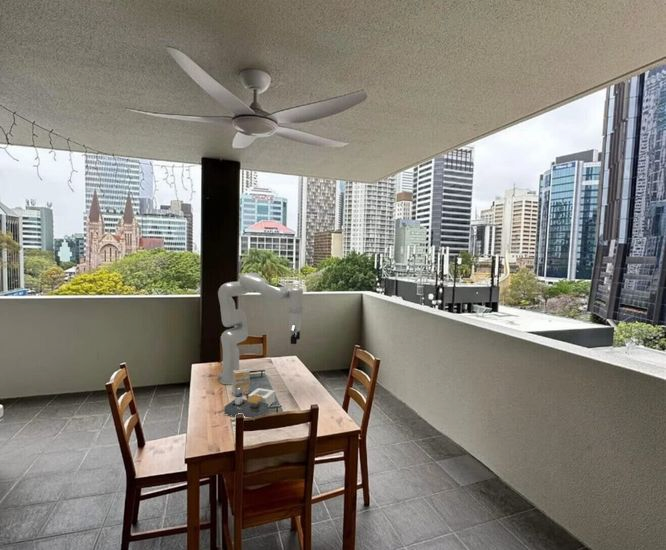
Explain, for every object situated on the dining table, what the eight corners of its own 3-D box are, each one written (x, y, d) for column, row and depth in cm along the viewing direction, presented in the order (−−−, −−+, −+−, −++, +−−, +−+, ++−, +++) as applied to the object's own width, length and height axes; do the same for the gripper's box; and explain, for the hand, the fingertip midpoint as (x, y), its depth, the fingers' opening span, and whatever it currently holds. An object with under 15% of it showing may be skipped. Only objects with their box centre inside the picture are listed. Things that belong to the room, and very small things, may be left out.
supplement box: (234, 397, 182) (234, 373, 181) (232, 393, 186) (232, 370, 185) (249, 394, 186) (249, 370, 185) (247, 390, 190) (247, 368, 189)
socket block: (224, 414, 162) (224, 406, 161) (236, 405, 171) (236, 398, 171) (257, 421, 156) (257, 412, 156) (268, 411, 166) (268, 403, 166)
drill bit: (233, 412, 164) (233, 388, 163) (237, 409, 167) (237, 385, 167) (239, 413, 163) (239, 389, 162) (243, 410, 166) (244, 386, 166)
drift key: (247, 409, 161) (247, 398, 160) (253, 404, 165) (253, 394, 165) (256, 410, 159) (256, 400, 159) (262, 406, 164) (262, 396, 164)
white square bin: (247, 406, 170) (247, 395, 170) (258, 398, 180) (258, 387, 180) (265, 410, 167) (265, 398, 167) (274, 401, 177) (275, 390, 177)
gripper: (291, 307, 192) (291, 337, 193) (285, 312, 175) (285, 345, 176) (304, 308, 192) (304, 337, 193) (299, 313, 175) (299, 346, 176)
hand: (295, 341), depth 185 cm, fingers open, 9 cm apart
